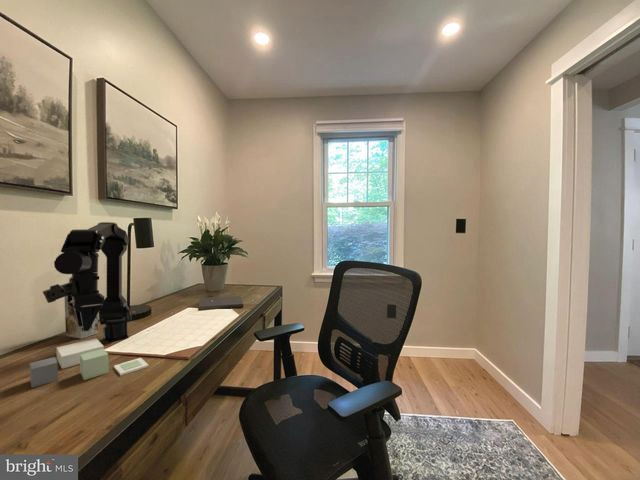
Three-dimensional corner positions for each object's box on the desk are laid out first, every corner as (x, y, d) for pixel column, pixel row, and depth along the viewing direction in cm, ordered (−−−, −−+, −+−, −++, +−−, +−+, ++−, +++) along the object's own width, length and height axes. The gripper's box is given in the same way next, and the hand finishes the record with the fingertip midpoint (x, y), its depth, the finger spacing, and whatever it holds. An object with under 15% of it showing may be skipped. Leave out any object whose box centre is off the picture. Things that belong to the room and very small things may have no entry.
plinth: (96, 349, 96) (96, 338, 96) (103, 358, 90) (103, 346, 90) (56, 359, 89) (56, 347, 89) (62, 370, 82) (61, 356, 82)
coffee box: (98, 333, 110) (98, 292, 110) (80, 339, 104) (79, 296, 104) (83, 330, 113) (82, 291, 113) (64, 336, 107) (63, 294, 107)
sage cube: (104, 366, 84) (103, 348, 84) (108, 372, 80) (108, 354, 80) (80, 373, 80) (79, 354, 80) (84, 380, 76) (83, 360, 76)
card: (140, 359, 88) (140, 357, 88) (148, 366, 84) (148, 364, 84) (114, 367, 83) (114, 365, 83) (120, 375, 79) (120, 373, 79)
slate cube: (55, 374, 79) (55, 356, 79) (57, 380, 76) (57, 362, 76) (30, 381, 76) (29, 363, 76) (31, 388, 72) (31, 369, 72)
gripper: (43, 274, 80) (41, 329, 79) (48, 275, 68) (46, 341, 67) (92, 272, 88) (91, 322, 87) (105, 272, 76) (104, 331, 75)
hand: (83, 328), depth 79 cm, fingers open, 9 cm apart
